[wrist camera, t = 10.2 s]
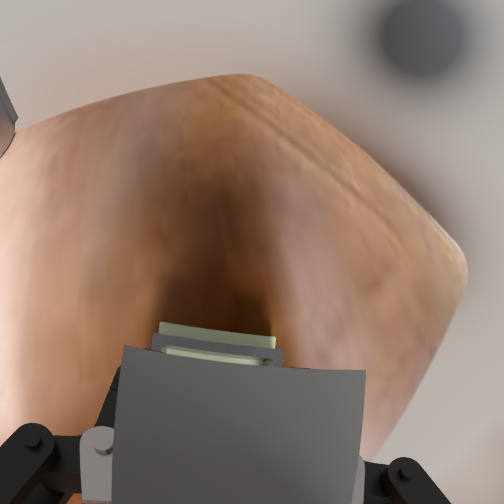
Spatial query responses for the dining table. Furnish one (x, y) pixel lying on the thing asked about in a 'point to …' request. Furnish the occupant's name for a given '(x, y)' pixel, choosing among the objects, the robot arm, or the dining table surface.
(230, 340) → the cream flat slab
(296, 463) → the chute block
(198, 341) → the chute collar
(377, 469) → the robot arm
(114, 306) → the dining table surface
